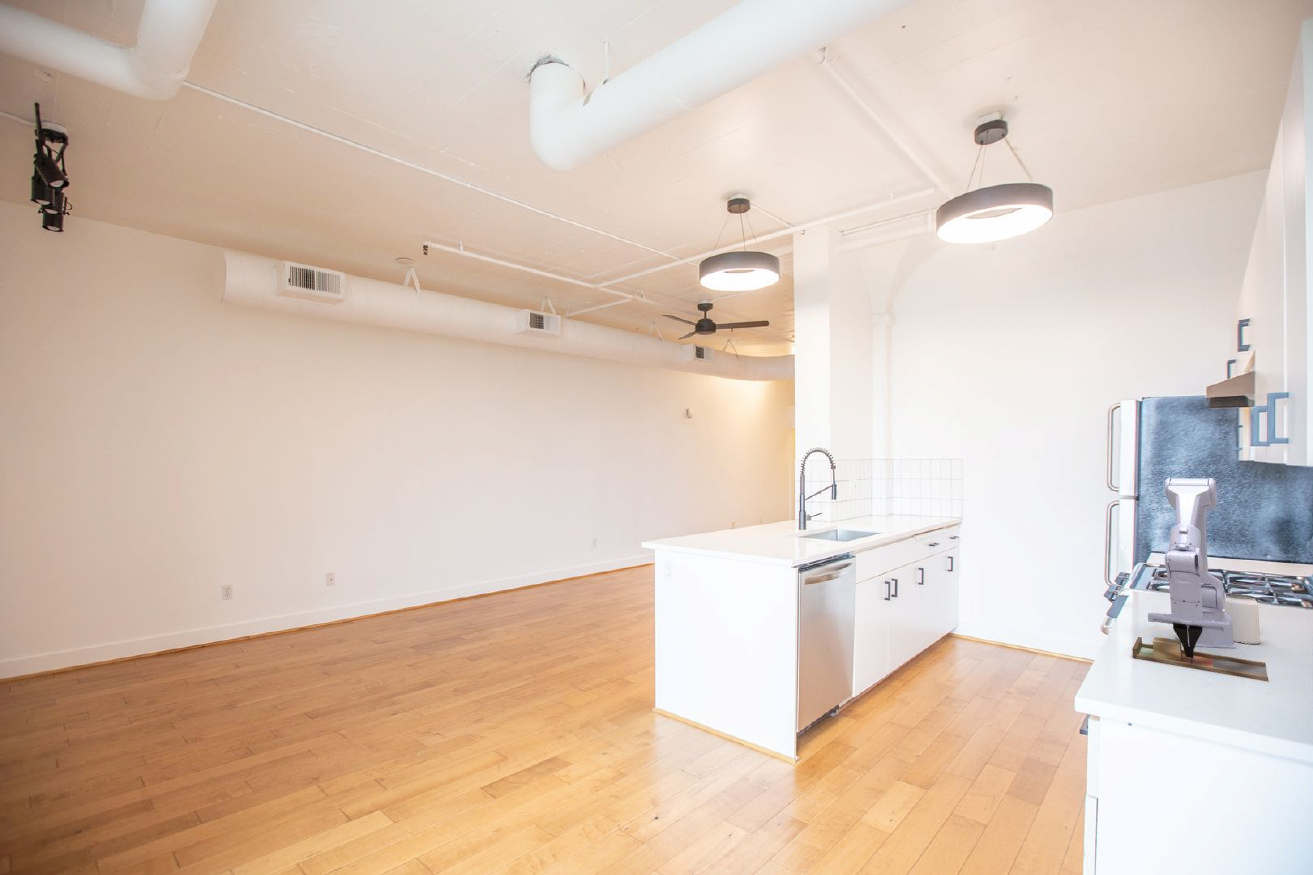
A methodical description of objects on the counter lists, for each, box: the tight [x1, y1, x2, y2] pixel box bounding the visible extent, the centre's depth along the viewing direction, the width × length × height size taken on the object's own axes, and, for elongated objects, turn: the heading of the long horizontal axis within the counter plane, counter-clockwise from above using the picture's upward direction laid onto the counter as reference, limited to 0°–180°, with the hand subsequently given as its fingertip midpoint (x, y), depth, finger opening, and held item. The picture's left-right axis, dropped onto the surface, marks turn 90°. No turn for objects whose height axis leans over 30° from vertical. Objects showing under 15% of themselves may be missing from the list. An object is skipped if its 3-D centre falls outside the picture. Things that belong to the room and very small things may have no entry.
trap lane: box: [1132, 636, 1269, 682], centre depth 139 cm, size 23×13×2 cm, turn 45°
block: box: [1152, 636, 1183, 662], centre depth 142 cm, size 5×5×4 cm
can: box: [1223, 593, 1261, 645], centre depth 154 cm, size 6×6×12 cm
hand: (1189, 656), depth 140 cm, fingers closed
